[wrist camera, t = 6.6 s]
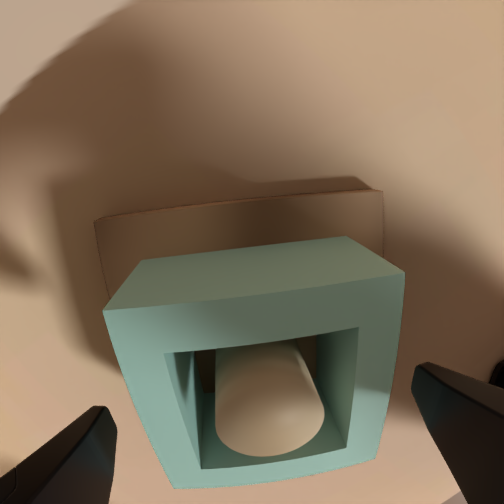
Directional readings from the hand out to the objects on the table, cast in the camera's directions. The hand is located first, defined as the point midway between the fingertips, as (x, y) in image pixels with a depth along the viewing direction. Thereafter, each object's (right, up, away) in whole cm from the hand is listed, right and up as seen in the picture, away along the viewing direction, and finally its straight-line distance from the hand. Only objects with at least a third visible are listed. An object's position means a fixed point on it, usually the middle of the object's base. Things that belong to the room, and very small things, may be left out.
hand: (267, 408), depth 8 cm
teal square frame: (0, +1, +4) cm, 4 cm away
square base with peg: (0, +1, +4) cm, 5 cm away
